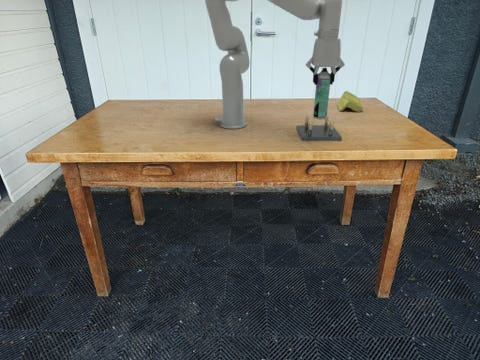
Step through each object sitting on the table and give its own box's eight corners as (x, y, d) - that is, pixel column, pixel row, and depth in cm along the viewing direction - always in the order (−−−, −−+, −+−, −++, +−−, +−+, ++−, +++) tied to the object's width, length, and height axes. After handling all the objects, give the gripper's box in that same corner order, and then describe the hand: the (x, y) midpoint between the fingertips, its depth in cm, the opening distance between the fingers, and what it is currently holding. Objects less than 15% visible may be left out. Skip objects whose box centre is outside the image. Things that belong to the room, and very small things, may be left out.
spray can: (324, 115, 137) (329, 66, 128) (327, 119, 132) (333, 68, 123) (311, 116, 137) (316, 67, 128) (314, 119, 132) (319, 69, 123)
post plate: (302, 140, 131) (303, 125, 128) (296, 128, 145) (297, 114, 142) (341, 140, 130) (343, 125, 128) (331, 128, 145) (333, 114, 142)
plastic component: (363, 108, 166) (347, 99, 166) (355, 120, 170) (339, 112, 170) (358, 97, 183) (343, 89, 182) (351, 108, 187) (336, 100, 186)
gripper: (307, 35, 117) (303, 86, 125) (354, 34, 116) (347, 85, 125) (303, 34, 123) (300, 82, 132) (348, 34, 123) (341, 82, 131)
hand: (323, 83), depth 128 cm, fingers closed on spray can, 5 cm apart
